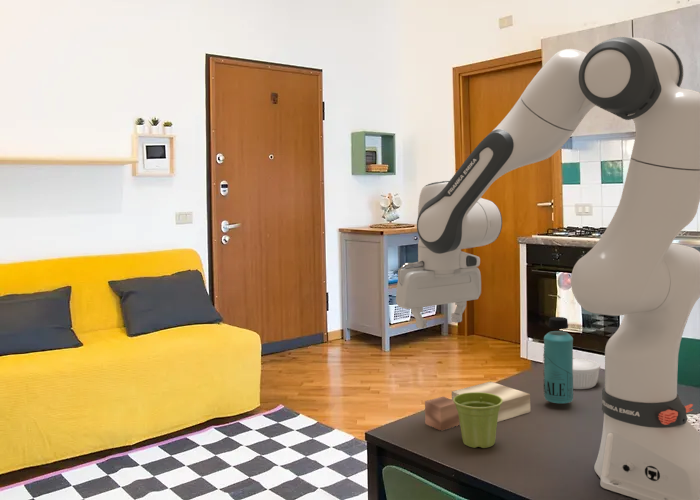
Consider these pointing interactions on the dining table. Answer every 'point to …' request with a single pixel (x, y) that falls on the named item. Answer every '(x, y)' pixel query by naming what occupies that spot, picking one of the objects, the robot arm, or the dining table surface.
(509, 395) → the birch base
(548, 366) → the beverage bottle
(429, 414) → the terracotta cube
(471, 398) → the plant pot
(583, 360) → the ramekin
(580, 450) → the dining table surface
